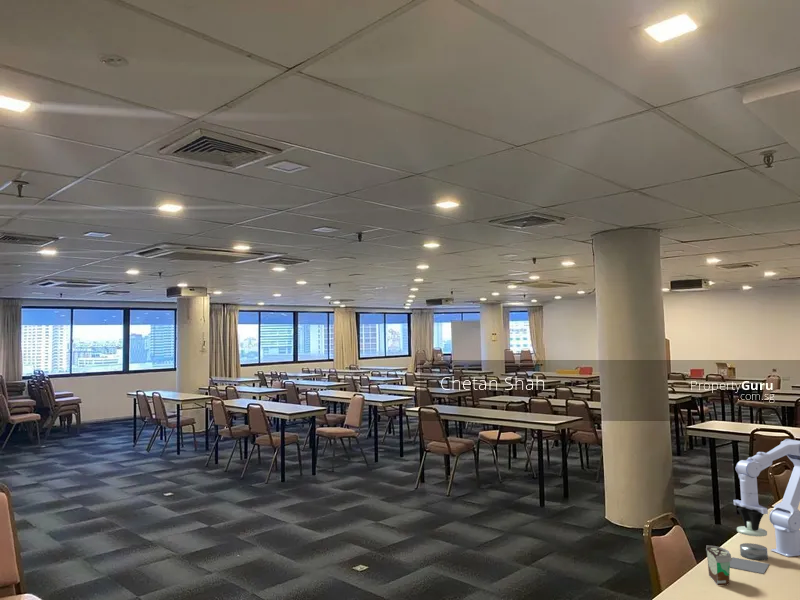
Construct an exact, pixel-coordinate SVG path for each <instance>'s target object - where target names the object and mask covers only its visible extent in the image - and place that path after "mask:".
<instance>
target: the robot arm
mask: <svg viewBox="0 0 800 600" xmlns="http://www.w3.org/2000/svg"><path fill="white" fill-rule="evenodd" d="M785 456H787V459H789V460H790V462H792V463H793V466H794V467H793V468H792V472H791V475H790V477H789V481H788V483H787V485H786V488H785V491H784V494H783V497H782V500H781V502H779V503H777V504H775V505H774V507H773V509H771V511H770V513H769V512H768V511H769V510H768V508H767V507H765V506H762V505H760V504H759V493H758V491H759V490H758V479H757V477H759V475H760V473H761V472H762V471H764V470H765V469H767V468H769V467H770V466H772V465H773V461H776V460H778V459H780V458H783V457H785ZM735 471H736V473H737V475H738V479H739V485H740V486H739V488H740V499H741V500H739V499H733V505H734V506H738V507H737V509H736V510H737V512H738V513H739V515H740V517H741V519H742V522H743V524H744V525H743V526H745V527H746V528H747V521H751V525H752V530H758V529H759V528H760V523H761V520H762V518H763V517H764V515H768V513H769V516H768V518H769V519H768V520H769V522H770V523H771V525H773V528H774V530H775V531H774V535H775V545H776V546H775V547H776V548H771V549H770V551H771V552H774V553H777V554H780V555H782V556H784V557H788V558H790V557H798V556H800V510H799V506H800V440H796V439H791V438H785V439H784V440H783V441H782V440H781V441H780V444H779V445H777V446H775V447H774V448H772V449H770V450H769V451H767V452H764V451H758V452H756V454H755V455H753V456H749V457H747V459H741V460H739V461H738V462H737V463H736V465H735Z"/></svg>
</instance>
